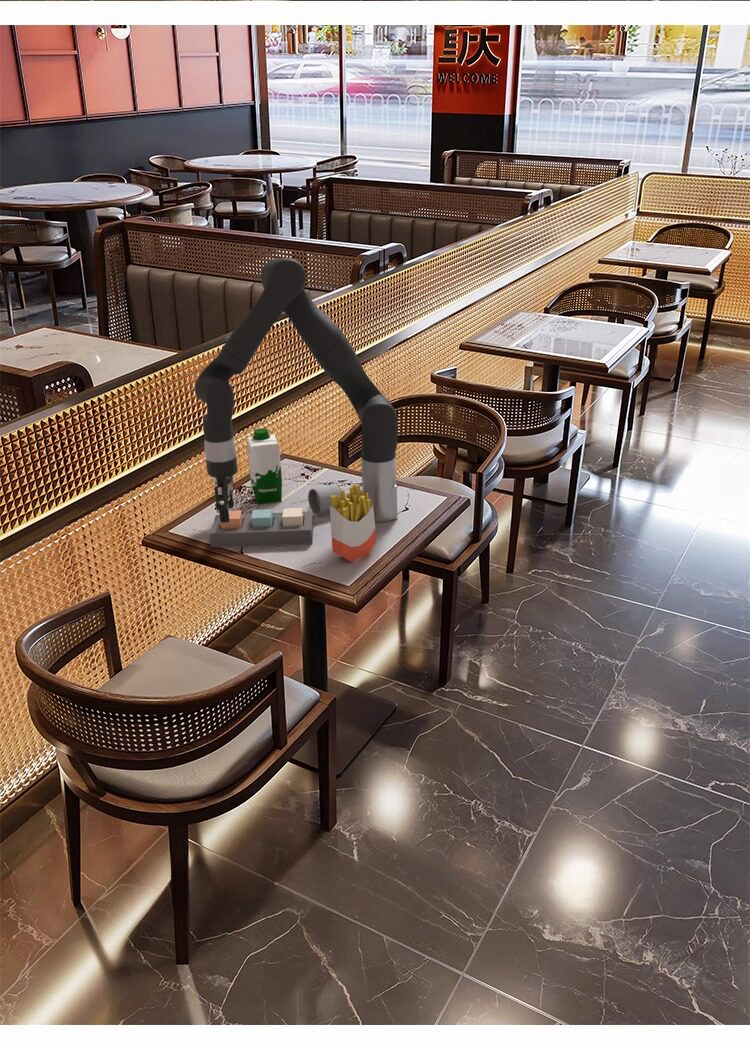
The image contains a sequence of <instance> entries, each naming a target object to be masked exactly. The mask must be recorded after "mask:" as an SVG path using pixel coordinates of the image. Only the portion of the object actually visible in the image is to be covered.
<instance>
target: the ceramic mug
mask: <svg viewBox="0 0 750 1049" xmlns="http://www.w3.org/2000/svg"><path fill="white" fill-rule="evenodd" d="M340 490H343V489H342V488H341V487H340V486H339V485H338V484H330V485H329V484H328V485H324V486H319V487H313V488H311V489H309V491H308V493H307V494H308V495H307V500H308V506H309V509H310V510H311V511H313V515H315V516H316V515H317V517H319V516H324V515H325V514H330V506H331V497H330V496H332V495H335V496H336V497H337V496H339V495H340V496H341V491H340Z"/></svg>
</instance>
